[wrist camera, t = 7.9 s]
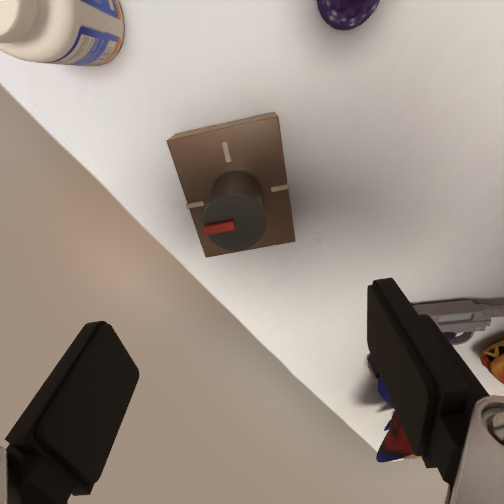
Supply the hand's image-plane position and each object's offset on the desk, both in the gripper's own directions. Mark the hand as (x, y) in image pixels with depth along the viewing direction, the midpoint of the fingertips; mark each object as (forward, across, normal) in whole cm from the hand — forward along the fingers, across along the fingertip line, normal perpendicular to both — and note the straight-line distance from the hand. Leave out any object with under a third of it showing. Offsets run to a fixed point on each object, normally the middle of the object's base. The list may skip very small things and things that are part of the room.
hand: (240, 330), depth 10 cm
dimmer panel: (+17, +1, 0) cm, 17 cm away
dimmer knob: (+14, +1, 0) cm, 14 cm away
